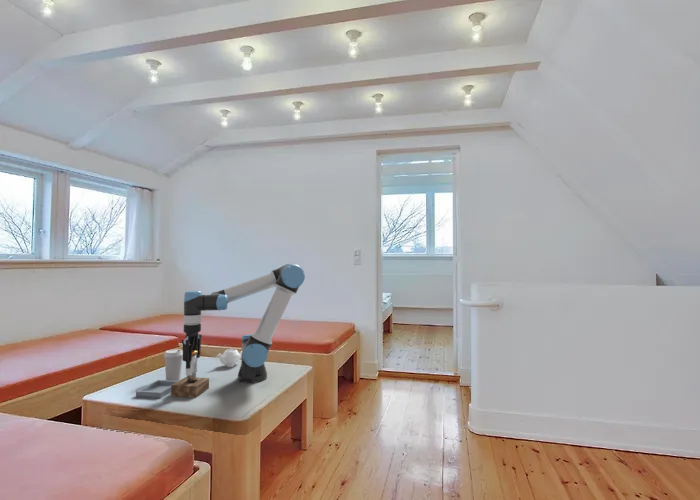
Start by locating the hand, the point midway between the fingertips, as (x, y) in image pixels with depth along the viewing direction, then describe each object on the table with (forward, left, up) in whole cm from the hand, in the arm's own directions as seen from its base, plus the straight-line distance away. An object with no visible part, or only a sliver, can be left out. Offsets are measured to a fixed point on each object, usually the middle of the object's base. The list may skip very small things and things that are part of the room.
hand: (191, 373), depth 172 cm
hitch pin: (0, 0, -7) cm, 7 cm away
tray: (+15, +1, -9) cm, 18 cm away
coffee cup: (+18, -15, -9) cm, 25 cm away
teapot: (0, -44, -9) cm, 45 cm away
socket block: (0, 0, -9) cm, 9 cm away
